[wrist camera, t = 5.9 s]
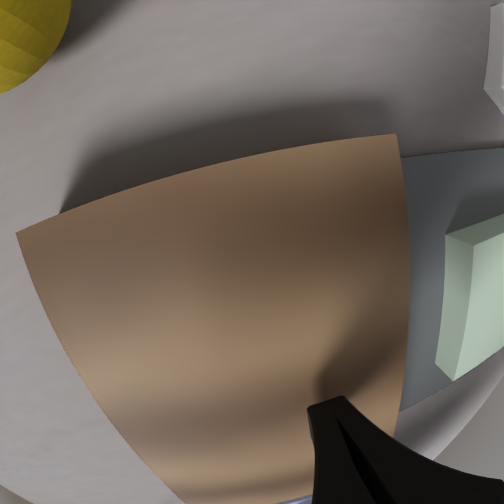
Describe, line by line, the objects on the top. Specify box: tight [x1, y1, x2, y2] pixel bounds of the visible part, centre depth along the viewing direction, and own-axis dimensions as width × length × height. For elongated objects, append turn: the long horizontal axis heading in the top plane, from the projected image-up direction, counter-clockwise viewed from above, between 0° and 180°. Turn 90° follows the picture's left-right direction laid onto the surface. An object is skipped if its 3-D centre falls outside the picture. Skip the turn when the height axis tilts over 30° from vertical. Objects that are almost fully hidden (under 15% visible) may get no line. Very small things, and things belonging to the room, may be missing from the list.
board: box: [16, 134, 410, 504], centre depth 11 cm, size 18×12×3 cm, turn 13°
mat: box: [399, 147, 504, 412], centre depth 13 cm, size 15×11×1 cm
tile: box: [435, 214, 504, 381], centre depth 12 cm, size 8×6×2 cm
